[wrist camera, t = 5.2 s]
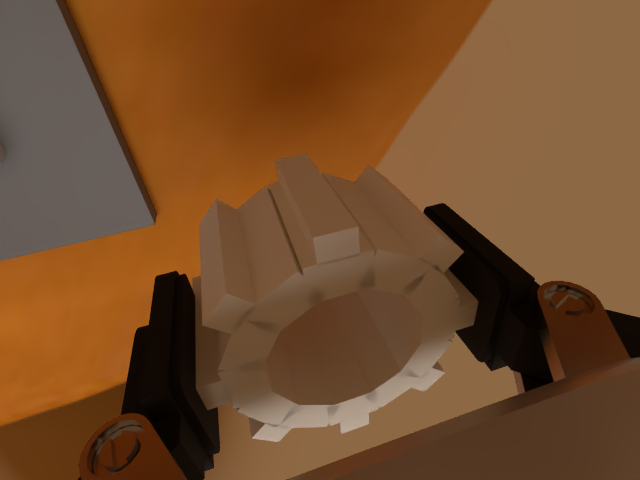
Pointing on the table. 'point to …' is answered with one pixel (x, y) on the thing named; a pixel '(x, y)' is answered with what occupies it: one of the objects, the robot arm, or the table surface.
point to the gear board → (58, 139)
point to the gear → (322, 301)
